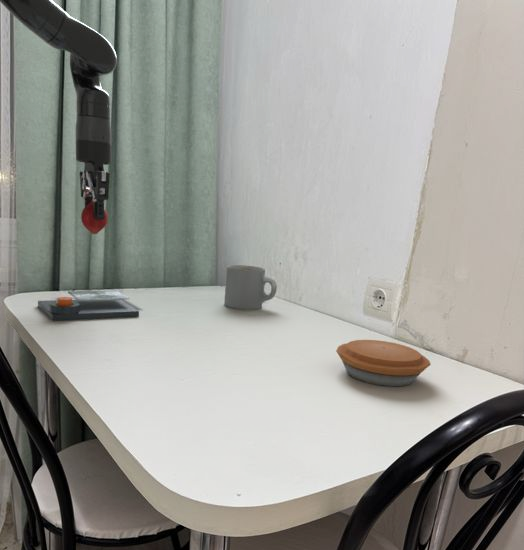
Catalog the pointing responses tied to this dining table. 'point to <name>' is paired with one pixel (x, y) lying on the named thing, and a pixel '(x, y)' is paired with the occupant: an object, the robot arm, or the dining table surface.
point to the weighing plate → (97, 295)
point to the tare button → (64, 301)
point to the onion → (92, 219)
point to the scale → (87, 310)
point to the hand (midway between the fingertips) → (94, 218)
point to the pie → (382, 362)
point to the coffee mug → (247, 287)
